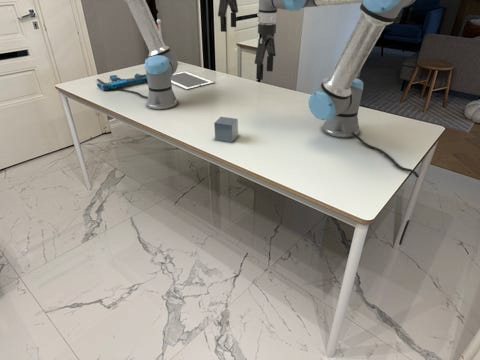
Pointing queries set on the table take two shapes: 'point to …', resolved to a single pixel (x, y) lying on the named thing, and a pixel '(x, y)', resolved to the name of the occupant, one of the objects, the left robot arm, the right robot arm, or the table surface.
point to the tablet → (188, 80)
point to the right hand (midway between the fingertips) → (264, 75)
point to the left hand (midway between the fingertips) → (228, 29)
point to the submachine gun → (122, 82)
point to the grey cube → (226, 129)
